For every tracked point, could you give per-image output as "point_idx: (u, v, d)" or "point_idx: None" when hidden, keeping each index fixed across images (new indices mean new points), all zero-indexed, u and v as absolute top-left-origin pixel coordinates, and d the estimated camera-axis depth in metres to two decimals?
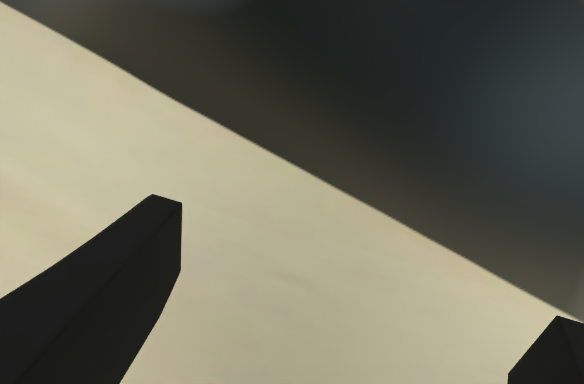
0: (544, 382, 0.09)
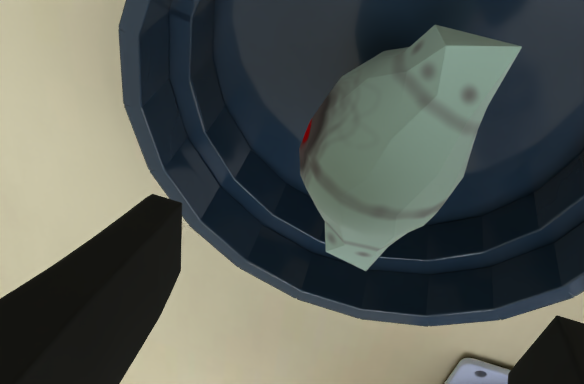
0: (544, 382, 0.09)
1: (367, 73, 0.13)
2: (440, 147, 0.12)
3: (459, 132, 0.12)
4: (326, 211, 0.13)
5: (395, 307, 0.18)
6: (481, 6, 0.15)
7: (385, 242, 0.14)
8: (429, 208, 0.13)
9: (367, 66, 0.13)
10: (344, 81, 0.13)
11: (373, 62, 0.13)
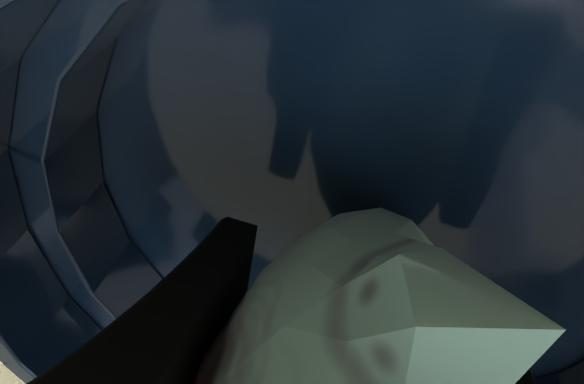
0: None
1: (288, 309, 0.07)
2: None
3: None
4: None
5: None
6: (485, 146, 0.10)
7: None
8: None
9: (292, 282, 0.08)
10: (253, 308, 0.08)
11: (302, 275, 0.08)
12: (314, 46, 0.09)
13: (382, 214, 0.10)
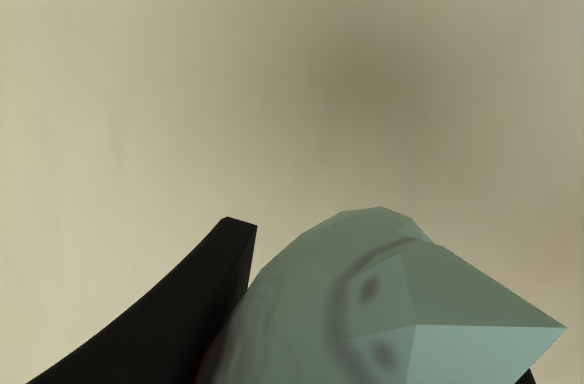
0: None
1: (288, 307, 0.07)
2: None
3: None
4: None
5: None
6: None
7: None
8: None
9: (292, 281, 0.08)
10: (253, 307, 0.08)
11: (302, 274, 0.08)
12: None
13: (383, 213, 0.10)
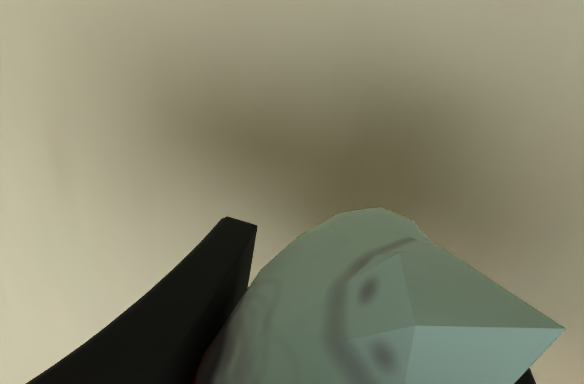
0: None
1: (287, 308, 0.07)
2: None
3: None
4: None
5: None
6: None
7: None
8: None
9: (291, 281, 0.08)
10: (252, 307, 0.08)
11: (302, 274, 0.08)
12: None
13: (382, 213, 0.10)
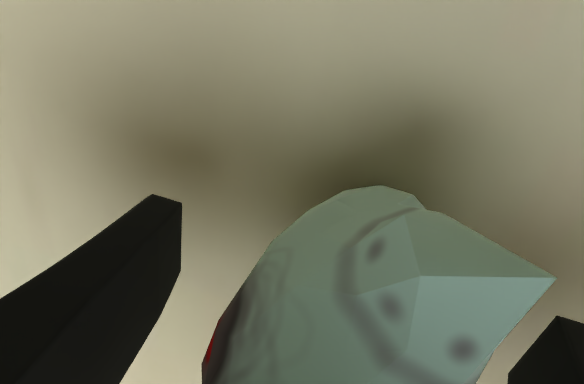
0: (544, 382, 0.09)
1: (299, 271, 0.08)
2: None
3: None
4: None
5: None
6: None
7: None
8: None
9: (302, 248, 0.08)
10: (266, 272, 0.08)
11: (312, 242, 0.08)
12: None
13: (385, 189, 0.10)
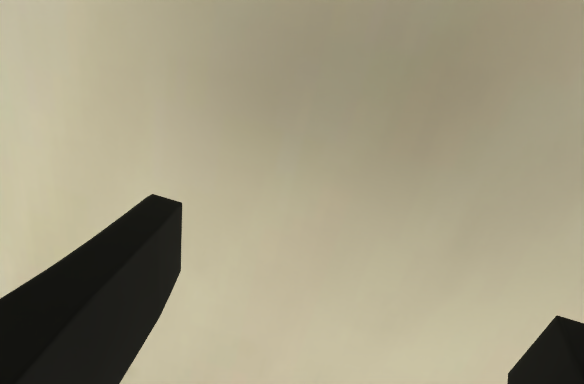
0: (544, 382, 0.09)
1: None
2: None
3: None
4: None
5: None
6: None
7: None
8: None
9: None
10: None
11: None
12: None
13: None
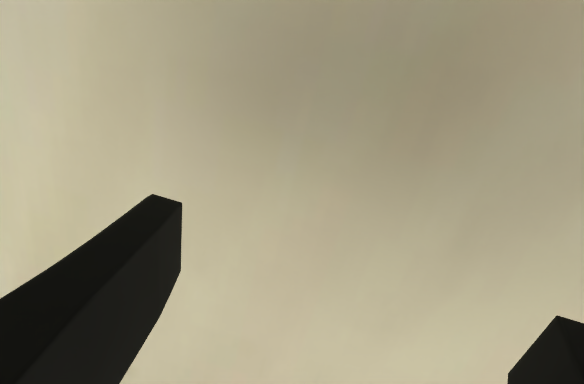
0: (544, 382, 0.09)
1: None
2: None
3: None
4: None
5: None
6: None
7: None
8: None
9: None
10: None
11: None
12: None
13: None
